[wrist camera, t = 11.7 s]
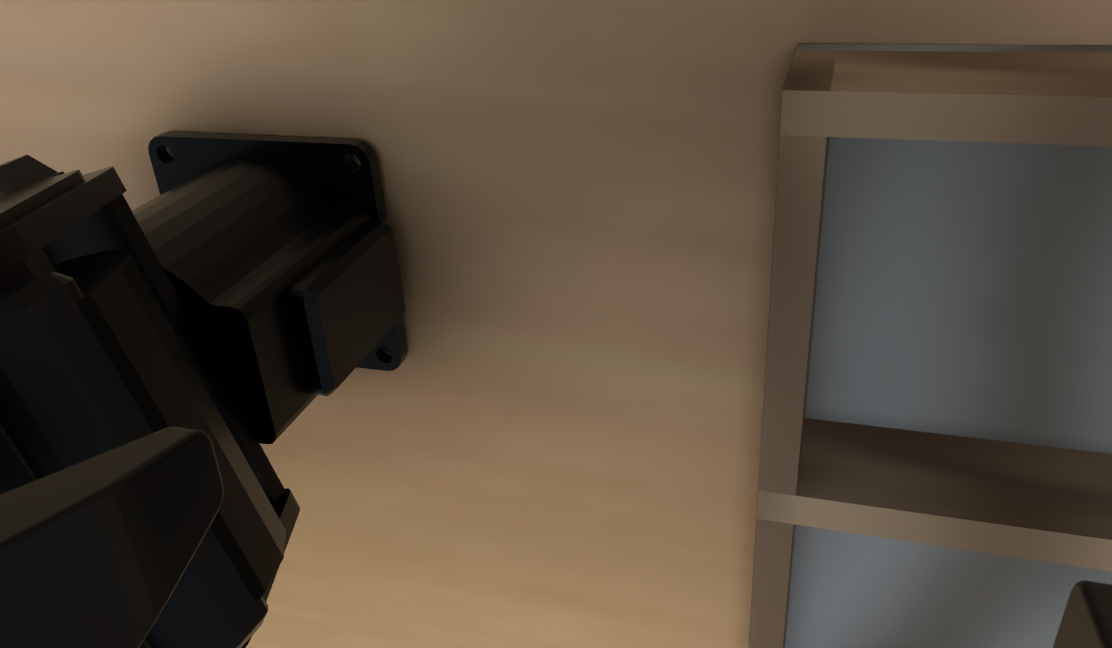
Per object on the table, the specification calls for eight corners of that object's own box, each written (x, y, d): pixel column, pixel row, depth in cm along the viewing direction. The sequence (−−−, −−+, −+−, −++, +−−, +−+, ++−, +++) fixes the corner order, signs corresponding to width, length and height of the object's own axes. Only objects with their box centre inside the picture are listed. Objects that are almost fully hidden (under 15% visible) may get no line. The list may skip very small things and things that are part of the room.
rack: (744, 843, 32) (730, 951, 29) (798, 42, 19) (782, 89, 16) (1063, 921, 29) (1084, 1050, 26) (1385, 47, 16) (1499, 104, 13)
